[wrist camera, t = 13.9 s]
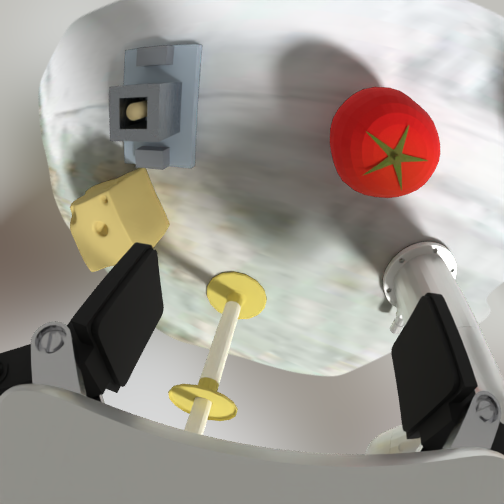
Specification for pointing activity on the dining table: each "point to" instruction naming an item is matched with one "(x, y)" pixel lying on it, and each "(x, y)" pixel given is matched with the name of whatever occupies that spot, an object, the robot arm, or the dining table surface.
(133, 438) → the robot arm
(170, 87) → the brushed steel block
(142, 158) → the stand
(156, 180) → the dining table surface
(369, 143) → the tomato
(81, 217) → the cheese
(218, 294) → the yellow disc stand
